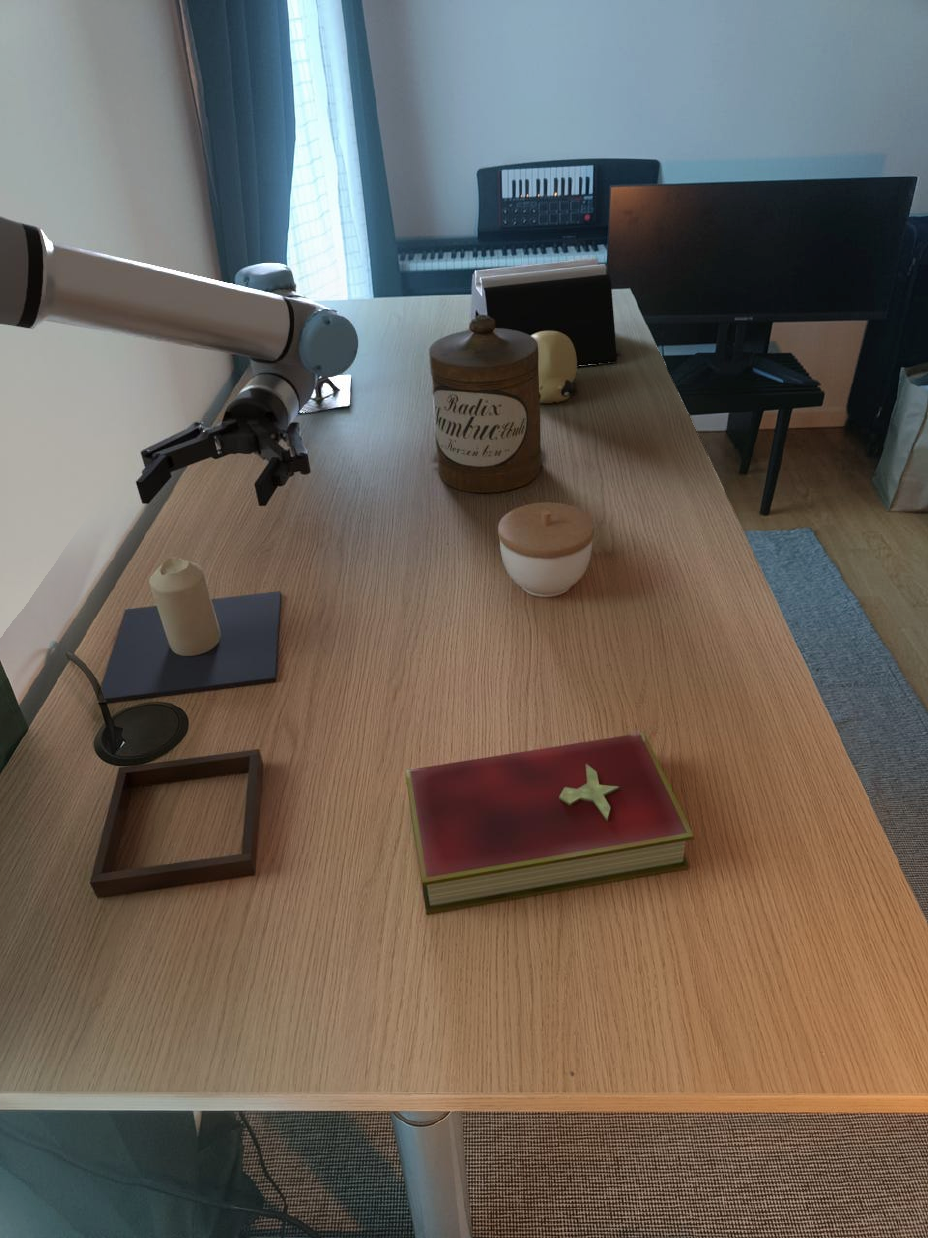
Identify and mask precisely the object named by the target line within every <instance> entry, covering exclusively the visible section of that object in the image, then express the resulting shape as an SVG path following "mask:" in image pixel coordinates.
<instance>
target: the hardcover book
mask: <svg viewBox="0 0 928 1238" xmlns="http://www.w3.org/2000/svg"><path fill="white" fill-rule="evenodd" d="M404 772H405V779H406V786H407V793H408V794H407V795H408V801H409V808H410V809H409V810H410V815H411V821H412V828H413V834H414V842H415V849H416V855H417V861H418V868H419V874H420V875H419V876H420V881H421V888H422V894H423V895H422V896H423V902H424V909H425V914H426V915H432V914H438V913H443V912H448V911H455V910H460V909H466V908H472V907H479V906H483V905H488V904H495V903H500V902H501V903H502V902H506V901H507V902H508V901H511V900H513V901H514V900H518V899H524V898H528V897H529V898H530V897H534V896H541V895H545V894H552V893H558V892H563V891H569V890H575V889H581V888H586V887H593V886H597V885H603V884H609V883H610V884H611V883H615V882H619V881H620V882H621V881H627V880H632V879H633V880H634V879H637V878H642V877H643V878H644V877H649V876H650V877H651V876H655V875H660V874H667V873H672V872H677V871H684V870H689V869H690V864H689V862H688V859H687V857H686V855H685V850H686V844H687V841H693V840H695V839H694V838H695V835H694V833H693V831H692V829H691V827H690V825H689V823H688V820H687V819H686V816H685V814H684V812H683V810H682V808H681V806H680V804H679V802H678V800H677V798H676V795H675V794H674V792H673V789H672V788H671V785H670V783H669V781H668V779H667V777H666V775H665V772H664V771H663V769H662V766H661V764H660V762H659V760H658V758H657V756H656V754H655V752H654V749H653V747H652V745H651V743H650V741H649V739H648V737H647V735H646V733H645V732H638V733H631V734H626V735H619V736H614V737H607V738H601V739H595V740H588V741H582V742H576V743H569V744H562V745H557V746H550V747H543V748H538V749H537V748H536V749H530V750H526V751H525V750H524V751H519V752H513V753H506V754H499V755H493V756H487V757H481V758H480V757H479V758H475V759H467V760H462V761H456V762H448V763H442V764H437V765H436V764H435V765H431V766H424V767H418V768H417V767H416V768H412V769H405V770H404Z"/></svg>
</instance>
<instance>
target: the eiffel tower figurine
mask: <svg viewBox="0 0 928 1238" xmlns="http://www.w3.org/2000/svg"><path fill="white" fill-rule="evenodd" d="M351 380H352V374H343V375H342V374H340V375H338V376H335V377H322V376H319V375H318V381H317V385H316V387H315V389H314V391H313V394H312V397H311V398H310V400H309V401H308V402H307V403H306V404H305V405H304V406H303V408H302V409H301V410H300V413H302V412H303V413H302V414H308V413H315V412H321V411H325V410H329V409H335V408H342V407H349V406H351V405H350V404H351V402H350V401H351ZM305 412H306V413H305Z"/></svg>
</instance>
